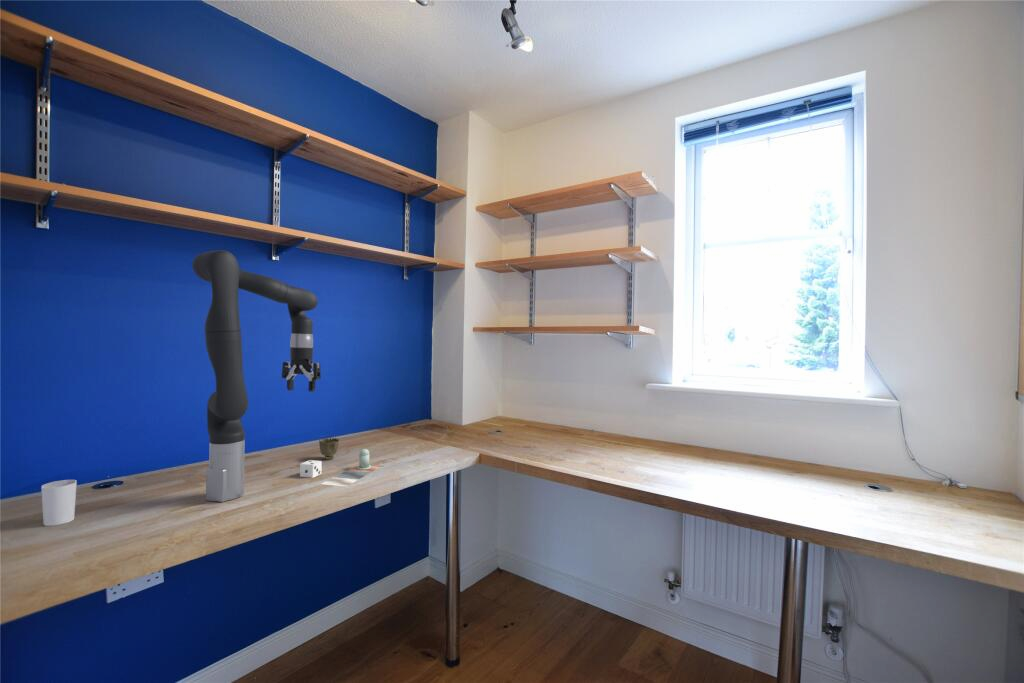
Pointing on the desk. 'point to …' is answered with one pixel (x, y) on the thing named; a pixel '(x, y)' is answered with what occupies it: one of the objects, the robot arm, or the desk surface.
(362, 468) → the pawn
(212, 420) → the robot arm
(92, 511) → the desk surface
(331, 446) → the cup
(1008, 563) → the desk surface
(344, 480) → the game strip
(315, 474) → the die
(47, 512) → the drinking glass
